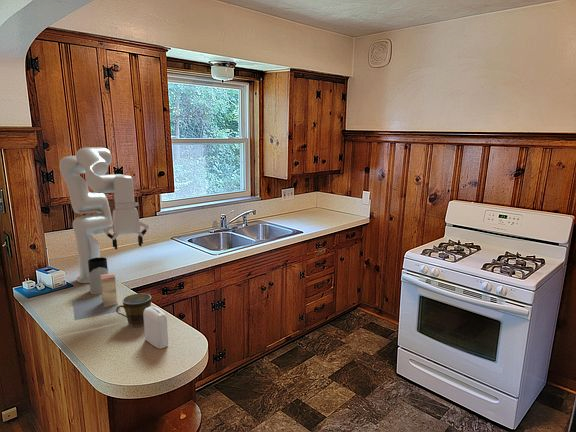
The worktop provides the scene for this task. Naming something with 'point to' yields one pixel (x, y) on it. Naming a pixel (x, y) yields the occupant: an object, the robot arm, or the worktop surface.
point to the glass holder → (96, 273)
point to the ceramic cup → (135, 308)
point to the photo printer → (155, 327)
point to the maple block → (108, 289)
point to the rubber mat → (92, 308)
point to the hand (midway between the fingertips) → (128, 247)
